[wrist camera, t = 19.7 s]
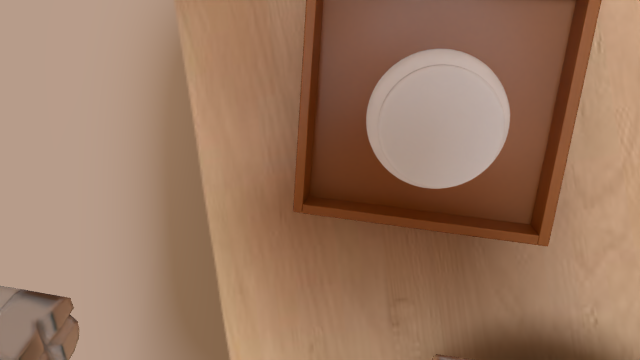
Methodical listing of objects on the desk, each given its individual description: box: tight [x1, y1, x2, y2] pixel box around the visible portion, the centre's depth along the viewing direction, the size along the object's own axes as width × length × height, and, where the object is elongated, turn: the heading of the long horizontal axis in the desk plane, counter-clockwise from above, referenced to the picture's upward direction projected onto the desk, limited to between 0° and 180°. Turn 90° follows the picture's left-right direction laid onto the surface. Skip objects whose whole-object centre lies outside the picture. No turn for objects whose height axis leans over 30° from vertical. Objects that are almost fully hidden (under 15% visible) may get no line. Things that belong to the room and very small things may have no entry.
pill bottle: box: [366, 49, 510, 189], centre depth 22 cm, size 6×6×11 cm
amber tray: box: [293, 0, 601, 246], centre depth 27 cm, size 15×14×3 cm
